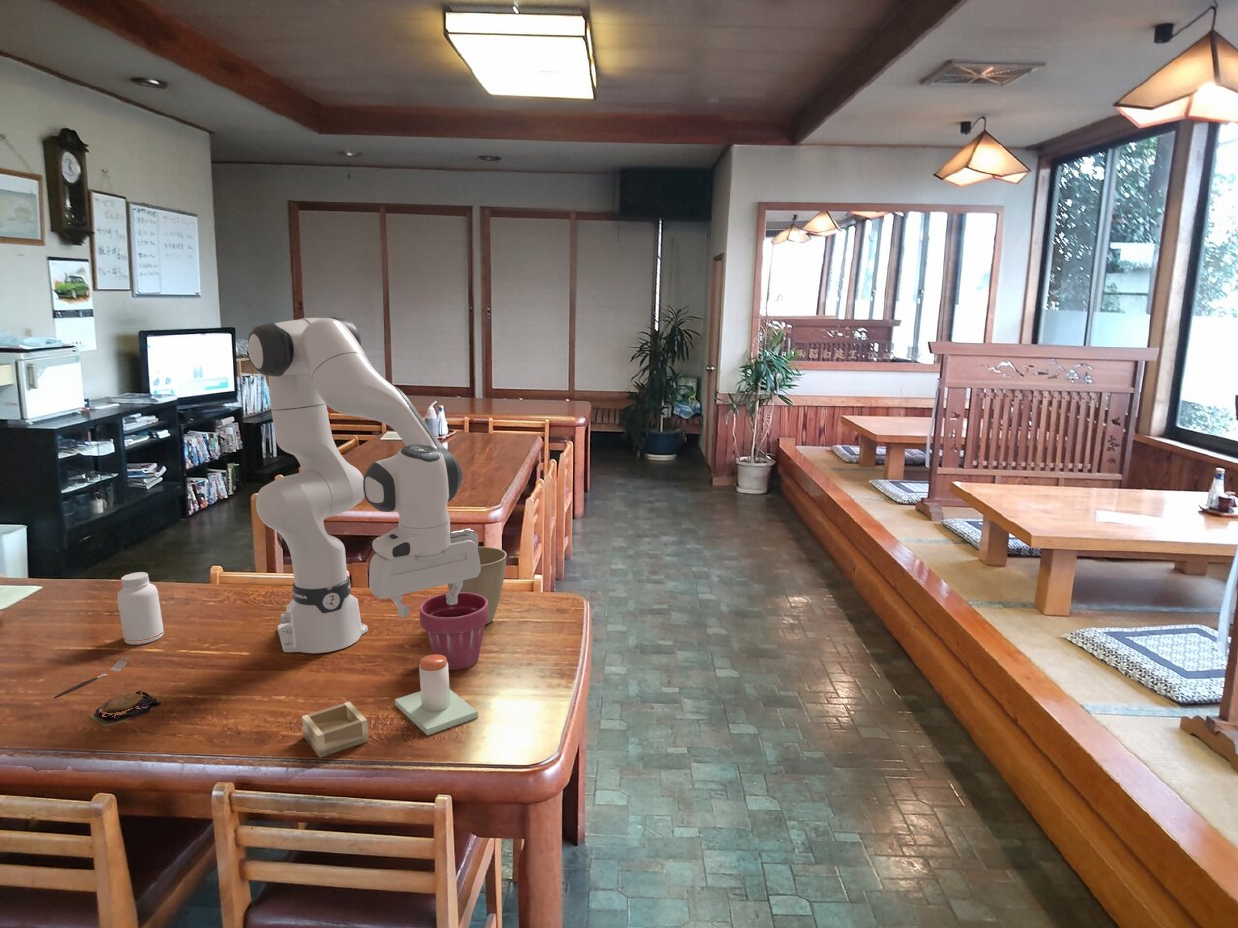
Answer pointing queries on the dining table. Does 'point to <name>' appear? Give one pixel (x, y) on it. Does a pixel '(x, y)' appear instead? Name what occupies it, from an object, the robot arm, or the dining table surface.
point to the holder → (335, 729)
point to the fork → (92, 679)
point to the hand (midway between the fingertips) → (428, 609)
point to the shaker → (434, 683)
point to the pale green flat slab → (436, 713)
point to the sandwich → (124, 708)
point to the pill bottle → (139, 609)
